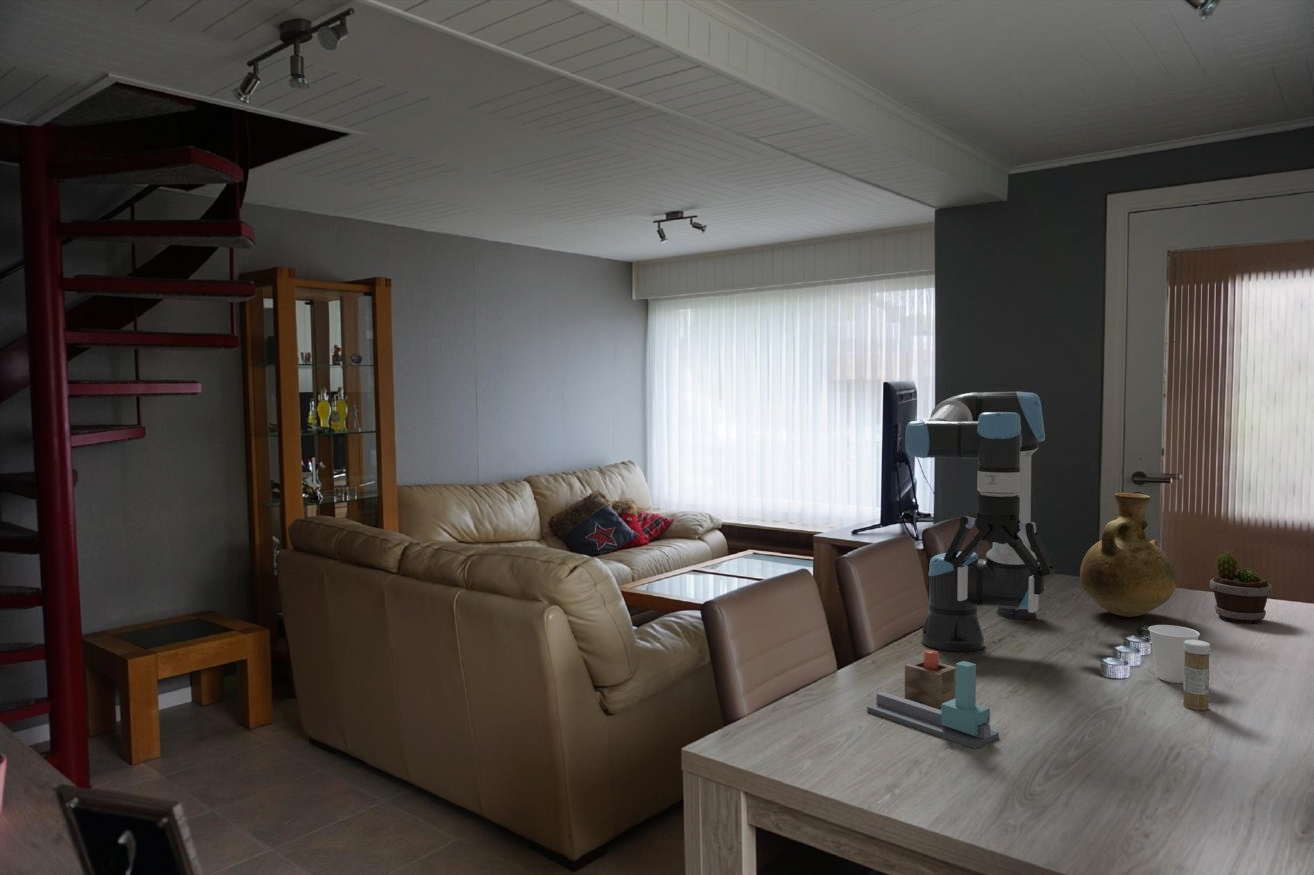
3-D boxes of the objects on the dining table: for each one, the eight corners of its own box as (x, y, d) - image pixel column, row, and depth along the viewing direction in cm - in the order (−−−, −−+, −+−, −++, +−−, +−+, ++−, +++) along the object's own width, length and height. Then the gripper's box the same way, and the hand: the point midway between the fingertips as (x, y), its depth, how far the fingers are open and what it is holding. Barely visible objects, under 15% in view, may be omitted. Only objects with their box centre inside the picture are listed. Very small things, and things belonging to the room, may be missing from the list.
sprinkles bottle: (1191, 702, 180) (1193, 637, 179) (1213, 709, 176) (1215, 643, 175) (1177, 705, 178) (1179, 640, 177) (1199, 712, 174) (1201, 646, 173)
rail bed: (867, 711, 176) (867, 697, 176) (891, 702, 181) (891, 688, 181) (975, 748, 157) (975, 732, 157) (998, 737, 162) (999, 722, 162)
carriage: (941, 724, 164) (941, 662, 164) (956, 718, 167) (956, 656, 167) (974, 735, 159) (975, 671, 158) (989, 729, 162) (990, 665, 161)
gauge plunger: (920, 672, 183) (920, 651, 182) (929, 669, 185) (929, 649, 184) (933, 676, 180) (933, 655, 180) (941, 673, 182) (941, 652, 182)
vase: (1139, 631, 233) (1142, 501, 231) (1061, 611, 254) (1062, 492, 252) (1193, 620, 244) (1196, 495, 242) (1113, 602, 265) (1115, 487, 263)
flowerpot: (1269, 616, 247) (1271, 546, 245) (1272, 629, 234) (1274, 555, 233) (1208, 610, 254) (1210, 542, 253) (1208, 622, 241) (1210, 550, 240)
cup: (1206, 688, 188) (1207, 637, 188) (1156, 685, 190) (1157, 635, 190) (1188, 673, 198) (1189, 625, 197) (1140, 671, 200) (1141, 623, 199)
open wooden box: (904, 697, 184) (904, 665, 183) (924, 690, 188) (924, 658, 188) (937, 708, 177) (938, 674, 177) (957, 700, 182) (957, 667, 181)
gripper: (927, 490, 170) (926, 598, 171) (1059, 500, 153) (1057, 620, 154) (944, 487, 176) (943, 592, 176) (1074, 497, 158) (1072, 612, 159)
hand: (996, 605), depth 165 cm, fingers open, 13 cm apart
